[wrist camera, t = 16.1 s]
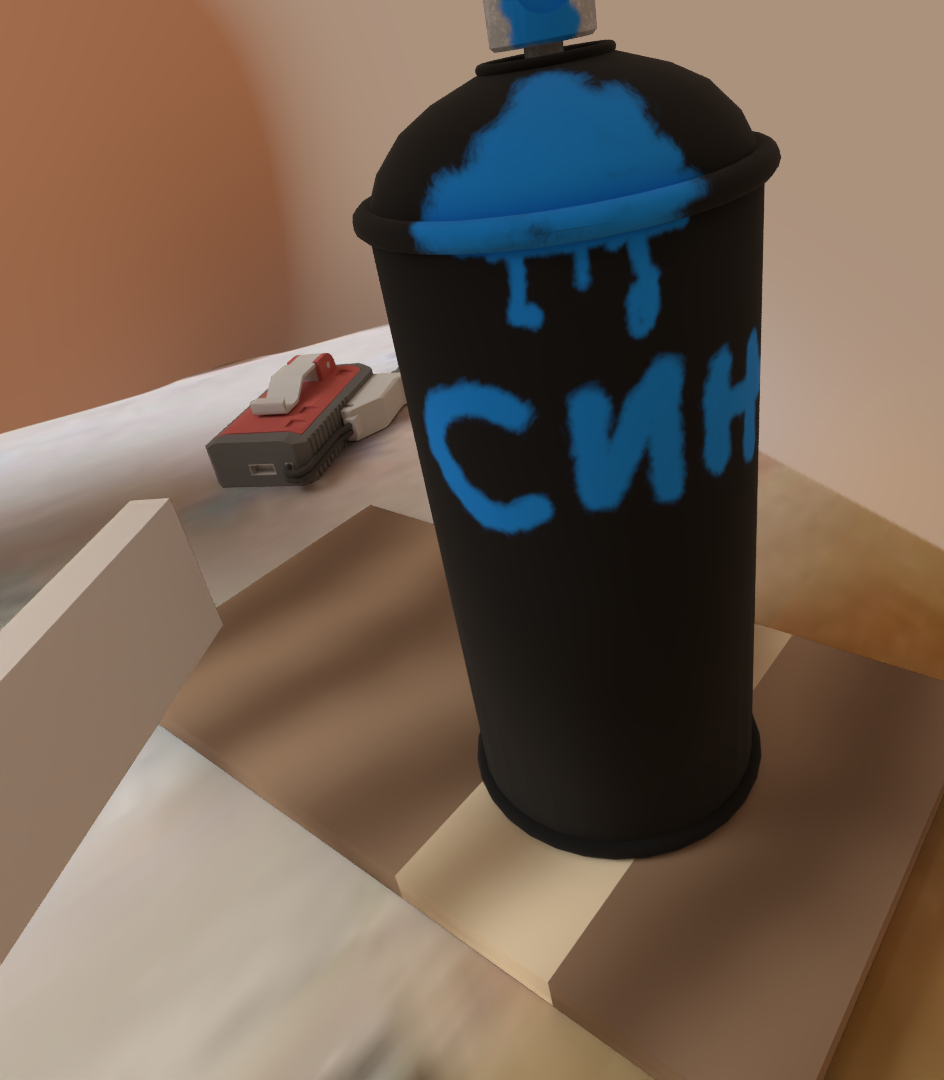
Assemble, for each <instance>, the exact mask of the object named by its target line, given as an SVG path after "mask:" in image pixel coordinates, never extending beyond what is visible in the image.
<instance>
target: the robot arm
mask: <svg viewBox="0 0 944 1080" xmlns="http://www.w3.org/2000/svg"><path fill="white" fill-rule="evenodd" d="M222 626H223V624H222V621H221V619H220V616H219V614H218V612H217V609H216V607H215V605H214V602H213V600H212V597H211V595H210V593H209V590H208V588H207V585H206V583H205V581H204V578H203V576H202V573H201V571H200V569H199V566H198V564H197V561H196V559H195V557H194V554H193V552H192V550H191V547H190V545H189V542H188V540H187V538H186V535H185V533H184V530H183V528H182V526H181V523H180V521H179V518H178V516H177V514H176V511H175V509H174V506H173V504H172V502H171V499H170V498H161V499H147V500H132V501H129V502H128V503H127V504H126V505H125V506H124V507H123V508H122V509H121V510H120V511H119V512H118V513H117V514H116V515H115V516H114V517H113V518H112V519H111V520H110V521H109V522H108V523H107V524H106V525H105V526H104V527H103V528H102V529H101V530H100V531H99V532H98V533H97V534H96V535H95V536H94V537H93V538H92V539H91V540H90V541H89V542H88V543H87V544H86V545H85V546H84V547H83V548H82V549H81V550H80V551H79V552H78V553H77V554H76V555H75V556H74V557H73V558H72V559H71V560H70V561H69V562H68V563H67V564H66V565H65V566H64V567H63V568H62V569H61V570H60V571H59V572H58V573H57V574H56V575H55V576H54V577H53V578H52V579H51V580H50V581H49V582H48V583H47V584H46V585H45V586H44V587H43V588H42V589H41V590H40V591H39V592H38V593H37V594H36V595H35V596H34V597H33V598H32V599H31V600H30V601H29V602H28V603H27V604H26V605H25V606H24V607H23V608H22V609H21V610H20V611H19V612H18V613H17V614H16V615H15V616H14V617H13V618H12V619H11V620H10V621H9V622H8V623H7V624H6V625H5V626H4V627H3V628H2V629H1V630H0V965H1V964H2V962H3V961H4V959H5V958H6V956H7V955H8V953H9V952H10V950H11V949H12V947H13V946H14V944H15V943H16V941H17V939H18V938H19V936H20V935H21V933H22V932H23V930H24V929H25V927H26V926H27V924H28V923H29V921H30V920H31V918H32V917H33V915H34V913H35V912H36V910H37V909H38V907H39V906H40V904H41V903H42V901H43V900H44V898H45V897H46V895H47V894H48V892H49V891H50V889H51V887H52V886H53V884H54V883H55V881H56V880H57V878H58V877H59V875H60V874H61V872H62V871H63V869H64V868H65V866H66V865H67V863H68V861H69V860H70V858H71V857H72V855H73V854H74V852H75V851H76V849H77V848H78V846H79V845H80V843H81V842H82V840H83V839H84V837H85V835H86V834H87V832H88V831H89V829H90V828H91V826H92V825H93V823H94V822H95V820H96V819H97V817H98V816H99V814H100V813H101V811H102V809H103V808H104V806H105V805H106V803H107V802H108V800H109V799H110V797H111V796H112V794H113V793H114V791H115V790H116V788H117V787H118V785H119V783H120V782H121V780H122V779H123V777H124V776H125V774H126V773H127V771H128V770H129V768H130V767H131V765H132V764H133V762H134V761H135V759H136V757H137V756H138V754H139V753H140V751H141V750H142V748H143V747H144V745H145V744H146V742H147V741H148V739H149V738H150V736H151V735H152V733H153V731H154V730H155V728H156V727H157V725H158V724H159V722H160V721H161V719H162V718H163V716H164V715H165V713H166V712H167V710H168V709H169V707H170V705H171V704H172V702H173V701H174V699H175V698H176V696H177V695H178V693H179V692H180V690H181V689H182V687H183V686H184V684H185V683H186V681H187V679H188V678H189V676H190V675H191V673H192V672H193V670H194V669H195V667H196V666H197V664H198V663H199V661H200V660H201V658H202V656H203V655H204V653H205V652H206V650H207V649H208V647H209V646H210V644H211V643H212V641H213V640H214V638H215V637H216V635H217V634H218V632H219V630H220V629H221V627H222Z"/></svg>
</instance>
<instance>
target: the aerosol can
mask: <svg viewBox="0 0 944 1080" xmlns="http://www.w3.org/2000/svg"><path fill="white" fill-rule="evenodd" d="M483 4H484V12H485V18H486V27H487V34H488V41H489V48H490V49H491V50H492V51H493V52H495V53H496V52H503V51H510V50H515V49H522V48H524V54H520V55H516V56H511V57H506V58H502V59H497V60H493V61H489V62H486V63H482V64H480V65H478V66H477V67H476V70H475V73H476V75H477V76H476V77H475V78H473V79H471V80H470V81H468V82H467V83H465V84H463V85H462V86H460V87H459V88H457V89H456V90H454V91H452V92H451V93H449V94H448V95H446V96H445V97H443V98H441V99H440V100H438V101H437V102H435V103H434V104H432V105H430V106H429V107H428V108H427V109H426V110H425V111H424V112H423V113H422V114H421V115H420V116H419V117H417V118H416V119H415V120H414V121H413V122H412V123H411V124H410V125H409V126H408V127H407V128H406V129H405V130H404V131H403V132H401V133H400V135H399V136H398V137H397V139H396V141H395V143H394V144H393V146H392V148H391V150H390V152H389V153H388V155H387V157H386V159H385V160H384V162H383V164H382V166H381V167H380V169H379V171H378V173H377V174H376V178H375V183H374V187H373V191H372V196H371V197H369V198H367V199H366V200H364V201H363V202H362V203H361V204H360V205H359V207H358V208H357V209H356V211H355V213H354V214H353V227H354V231H355V233H356V235H357V237H359V238H360V239H361V240H363V241H365V242H366V243H368V244H369V245H371V246H372V249H373V254H374V258H375V263H376V267H377V271H378V276H379V281H380V285H381V290H382V294H383V298H384V303H385V307H386V312H387V316H388V321H389V325H390V330H391V334H392V339H393V343H394V348H395V352H396V357H397V361H398V365H399V370H400V374H401V379H402V383H403V388H404V392H405V397H406V401H407V406H408V410H409V415H410V419H411V424H412V428H413V432H414V437H415V441H416V446H417V450H418V455H419V459H420V464H421V468H422V473H423V477H424V482H425V486H426V490H427V495H428V499H429V504H430V508H431V513H432V517H433V522H434V526H435V531H436V535H437V540H438V544H439V549H440V553H441V557H442V562H443V566H444V571H445V575H446V580H447V584H448V589H449V593H450V598H451V602H452V607H453V611H454V616H455V620H456V624H457V629H458V633H459V638H460V642H461V647H462V651H463V656H464V660H465V665H466V669H467V674H468V678H469V683H470V687H471V691H472V696H473V700H474V705H475V709H476V714H477V718H478V723H479V727H480V733H479V738H478V758H477V759H478V764H479V769H480V773H481V778H482V781H483V783H484V785H485V787H486V789H487V791H488V793H489V795H490V797H491V799H492V800H493V802H494V803H495V804H496V805H497V806H498V808H499V809H500V810H501V811H502V812H503V813H504V815H505V816H506V817H507V818H508V819H509V820H510V821H511V822H512V823H514V824H515V825H516V826H518V827H519V828H520V829H521V830H523V831H524V832H525V833H527V834H528V835H529V836H531V837H533V838H535V839H537V840H539V841H541V842H543V843H545V844H547V845H549V846H552V847H554V848H556V849H559V850H563V851H566V852H570V853H574V854H577V855H581V856H584V857H593V858H603V859H613V860H620V859H634V858H648V857H652V856H656V855H660V854H664V853H668V852H672V851H676V850H679V849H681V848H684V847H686V846H688V845H690V844H693V843H695V842H697V841H699V840H701V839H704V838H706V837H707V836H708V835H710V834H711V833H712V832H714V831H715V830H717V829H718V828H719V827H721V826H722V825H724V824H725V823H726V822H728V821H729V819H730V818H731V817H732V816H733V815H734V814H735V813H736V812H737V810H738V809H739V808H740V807H741V806H742V805H743V804H744V802H745V801H746V799H747V797H748V795H749V793H750V791H751V789H752V787H753V785H754V783H755V781H756V779H757V776H758V771H759V766H760V761H761V756H762V755H761V741H760V733H759V730H758V727H757V724H756V722H755V719H754V716H753V713H752V705H753V662H754V618H755V575H756V532H757V488H758V443H759V441H758V440H759V401H760V358H761V357H760V356H761V313H762V270H763V228H764V227H763V226H764V225H763V224H764V184H765V182H767V181H768V179H769V178H770V177H771V176H772V175H773V173H774V172H775V171H776V169H777V167H778V166H779V163H780V159H781V155H780V151H779V148H778V146H777V144H776V142H775V141H774V140H773V139H772V138H771V137H769V136H766V135H764V134H762V133H759V132H754V131H752V130H751V128H750V126H749V124H748V122H747V120H746V118H745V116H744V114H743V112H742V110H741V109H740V108H739V107H738V106H737V105H736V104H735V103H734V102H733V101H732V100H731V99H729V97H727V96H726V95H725V94H724V93H723V92H722V91H721V90H720V89H719V88H718V87H717V86H716V85H715V84H714V83H713V82H712V81H711V80H710V79H708V78H706V77H704V76H702V75H699V74H697V73H695V72H692V71H690V70H688V69H685V68H683V67H681V66H679V65H676V64H674V63H672V62H668V61H664V60H659V59H654V58H650V57H645V56H640V55H636V54H631V53H627V52H622V51H617V50H615V48H616V43H615V42H614V41H613V40H600V41H593V42H586V43H580V44H574V45H568V46H563V41H564V40H568V39H573V38H578V37H582V36H586V35H590V34H593V33H594V31H595V30H596V28H597V22H596V9H595V0H483Z"/></svg>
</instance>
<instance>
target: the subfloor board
mask: <svg viewBox="0 0 944 1080" xmlns="http://www.w3.org/2000/svg"><path fill="white" fill-rule="evenodd" d="M216 609H217V612H218V614H219V616H220V619H221V621H222V624H223V626H222V627H221V629H220V630H219V632H218V634H217V635H216V637H215V638H214V640H213V641H212V643H211V644H210V646H209V647H208V649H207V650H206V652H205V653H204V655H203V656H202V658H201V660H200V661H199V663H198V664H197V666H196V667H195V669H194V670H193V672H192V673H191V675H190V676H189V678H188V679H187V681H186V683H185V684H184V686H183V687H182V689H181V690H180V692H179V693H178V695H177V696H176V698H175V699H174V701H173V702H172V704H171V705H170V707H169V709H168V710H167V712H166V713H165V715H164V716H163V718H162V719H161V721H160V722H159V724H160V725H161V726H162V727H164V728H165V729H167V730H168V731H169V732H171V733H172V734H174V735H175V736H176V737H178V738H179V739H181V740H182V741H183V742H185V743H186V744H188V745H189V746H190V747H192V748H193V749H195V750H196V751H197V752H199V753H200V754H202V755H203V756H204V757H206V758H207V759H209V760H210V761H211V762H213V763H214V764H216V765H217V766H218V767H220V768H221V769H223V770H224V771H225V772H227V773H228V774H230V775H231V776H232V777H234V778H235V779H237V780H238V781H239V782H241V783H242V784H244V785H245V786H246V787H248V788H249V789H251V790H252V791H253V792H255V793H256V794H258V795H259V796H260V797H262V798H263V799H264V800H266V801H267V802H269V803H270V804H271V805H273V806H274V807H276V808H277V809H278V810H280V811H281V812H283V813H284V814H285V815H287V816H288V817H290V818H291V819H292V820H294V821H295V822H297V823H298V824H299V825H301V826H302V827H304V828H305V829H306V830H308V831H309V832H311V833H312V834H313V835H315V836H316V837H318V838H319V839H320V840H322V841H323V842H325V843H326V844H327V845H329V846H330V847H332V848H333V849H334V850H336V851H337V852H339V853H340V854H341V855H343V856H344V857H346V858H347V859H348V860H350V861H351V862H353V863H354V864H355V865H357V866H358V867H360V868H361V869H362V870H364V871H365V872H367V873H368V874H369V875H371V876H372V877H374V878H375V879H376V880H378V881H379V882H381V883H382V884H383V885H385V886H386V887H388V888H389V889H390V890H392V891H393V892H395V893H396V894H397V895H399V896H400V897H402V898H403V899H404V900H406V901H407V902H409V903H410V904H411V905H413V906H414V907H416V908H417V909H418V910H420V911H421V912H423V913H424V914H425V915H427V916H428V917H430V918H431V919H432V920H434V921H435V922H436V923H438V924H439V925H441V926H442V927H443V928H445V929H446V930H448V931H449V932H450V933H452V934H453V935H455V936H456V937H457V938H459V939H460V940H462V941H463V942H464V943H466V944H467V945H469V946H470V947H471V948H473V949H474V950H476V951H477V952H478V953H480V954H481V955H483V956H484V957H485V958H487V959H488V960H490V961H491V962H492V963H494V964H495V965H497V966H498V967H499V968H501V969H502V970H504V971H505V972H506V973H508V974H509V975H511V976H512V977H513V978H515V979H516V980H518V981H519V982H520V983H522V984H523V985H525V986H526V987H527V988H529V989H530V990H532V991H533V992H534V993H536V994H537V995H539V996H540V997H541V998H543V999H544V1000H546V1001H547V1002H548V1003H550V1004H551V1005H553V1006H554V1007H555V1008H557V1009H558V1010H560V1011H561V1012H562V1013H564V1014H565V1015H567V1016H568V1017H569V1018H571V1019H572V1020H574V1021H575V1022H576V1023H578V1024H579V1025H581V1026H582V1027H583V1028H585V1029H586V1030H588V1031H589V1032H590V1033H592V1034H593V1035H595V1036H596V1037H597V1038H599V1039H600V1040H601V1041H603V1042H604V1043H606V1044H607V1045H608V1046H610V1047H611V1048H613V1049H614V1050H615V1051H617V1052H618V1053H620V1054H621V1055H622V1056H624V1057H625V1058H627V1059H628V1060H629V1061H631V1062H632V1063H634V1064H635V1065H636V1066H638V1067H639V1068H641V1069H642V1070H643V1071H645V1072H646V1073H648V1074H649V1075H650V1076H652V1077H653V1078H655V1079H656V1080H823V1079H824V1077H825V1075H826V1072H827V1070H828V1068H829V1065H830V1063H831V1060H832V1058H833V1056H834V1053H835V1051H836V1049H837V1046H838V1044H839V1042H840V1039H841V1037H842V1034H843V1032H844V1030H845V1027H846V1025H847V1023H848V1020H849V1018H850V1016H851V1013H852V1011H853V1008H854V1006H855V1004H856V1001H857V999H858V997H859V994H860V992H861V990H862V987H863V985H864V982H865V980H866V978H867V975H868V973H869V971H870V968H871V966H872V964H873V961H874V959H875V956H876V954H877V952H878V949H879V947H880V945H881V942H882V940H883V937H884V935H885V933H886V930H887V928H888V926H889V923H890V921H891V919H892V916H893V914H894V911H895V909H896V907H897V904H898V902H899V900H900V897H901V895H902V893H903V890H904V888H905V885H906V883H907V881H908V878H909V876H910V874H911V871H912V869H913V867H914V864H915V862H916V859H917V857H918V855H919V852H920V850H921V848H922V845H923V843H924V841H925V838H926V836H927V833H928V831H929V829H930V826H931V824H932V822H933V819H934V817H935V815H936V812H937V810H938V807H939V805H940V803H941V800H942V798H943V796H944V681H941V680H938V679H935V678H931V677H928V676H925V675H922V674H918V673H915V672H912V671H909V670H905V669H902V668H899V667H896V666H892V665H889V664H886V663H883V662H879V661H876V660H873V659H870V658H866V657H863V656H860V655H857V654H853V653H850V652H847V651H844V650H840V649H837V648H834V647H831V646H827V645H824V644H821V643H818V642H814V641H811V640H808V639H805V638H801V637H798V636H795V635H792V634H788V633H785V632H782V631H779V630H775V629H772V628H769V627H766V626H762V625H759V624H756V623H754V662H753V705H752V713H753V716H754V719H755V722H756V724H757V727H758V730H759V733H760V741H761V755H762V756H761V761H760V766H759V771H758V776H757V779H756V781H755V783H754V785H753V787H752V789H751V791H750V793H749V795H748V797H747V799H746V801H745V802H744V804H743V805H742V806H741V807H740V808H739V809H738V810H737V812H736V813H735V814H734V815H733V816H732V817H731V818H730V819H729V821H728V822H726V823H725V824H724V825H722V826H721V827H719V828H718V829H717V830H715V831H714V832H712V833H711V834H710V835H708V836H707V837H706V838H704V839H701V840H699V841H697V842H695V843H693V844H690V845H688V846H686V847H684V848H681V849H679V850H676V851H672V852H668V853H664V854H660V855H656V856H652V857H648V858H634V859H620V860H613V859H603V858H593V857H584V856H581V855H577V854H574V853H570V852H566V851H563V850H559V849H556V848H554V847H552V846H549V845H547V844H545V843H543V842H541V841H539V840H537V839H535V838H533V837H531V836H529V835H528V834H527V833H525V832H524V831H523V830H521V829H520V828H519V827H518V826H516V825H515V824H514V823H512V822H511V821H510V820H509V819H508V818H507V817H506V816H505V815H504V813H503V812H502V811H501V810H500V809H499V808H498V806H497V805H496V804H495V803H494V802H493V800H492V799H491V797H490V795H489V793H488V791H487V789H486V787H485V785H484V783H483V781H482V778H481V773H480V769H479V764H478V759H477V758H478V738H479V733H480V727H479V723H478V718H477V714H476V709H475V705H474V700H473V696H472V691H471V687H470V683H469V678H468V674H467V669H466V665H465V660H464V656H463V651H462V647H461V642H460V638H459V633H458V629H457V624H456V620H455V616H454V611H453V607H452V602H451V598H450V593H449V589H448V584H447V580H446V575H445V571H444V566H443V562H442V557H441V553H440V549H439V544H438V540H437V535H436V531H435V526H434V524H431V523H427V522H424V521H421V520H418V519H414V518H411V517H408V516H404V515H401V514H398V513H395V512H391V511H388V510H385V509H382V508H378V507H375V506H372V505H370V506H368V507H367V508H365V509H364V510H362V511H361V512H359V513H358V514H356V515H355V516H353V517H352V518H350V519H349V520H347V521H346V522H344V523H343V524H341V525H340V526H338V527H337V528H335V529H334V530H332V531H331V532H329V533H328V534H326V535H325V536H323V537H322V538H320V539H319V540H317V541H316V542H314V543H313V544H311V545H310V546H308V547H307V548H305V549H304V550H302V551H301V552H300V553H298V554H297V555H295V556H294V557H292V558H291V559H289V560H288V561H286V562H285V563H283V564H282V565H280V566H279V567H277V568H276V569H274V570H273V571H271V572H270V573H268V574H267V575H265V576H264V577H262V578H261V579H259V580H258V581H256V582H255V583H253V584H252V585H250V586H249V587H247V588H246V589H244V590H243V591H241V592H240V593H238V594H237V595H235V596H234V597H232V598H231V599H229V600H228V601H226V602H225V603H223V604H222V605H220V606H219V607H217V608H216Z"/></svg>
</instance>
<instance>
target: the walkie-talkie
mask: <svg viewBox="0 0 944 1080" xmlns="http://www.w3.org/2000/svg"><path fill="white" fill-rule="evenodd" d="M406 404H407V401H406V397H405V392H404V388H403V383H402V379H401V374H400V370H399V367H398V368H397V370H395V371H392V372H391V373H382V374H373V373H372V369H371V368H370V367H369V366H366V365H363V364H360V363H354V364H341V365H335V362H334V359H333V357H332V356H331V355H330V354H329V353H323V354H309V355H297V356H294V357H293V358H292V359H291V360H290V361H289V362H288V363H287V365H285V366H283V367H282V368H281V369H280V370H279V371H278V372H276V373H275V374H274V375H273V376H272V377H271V380H270V384H269V388H268V389H267V390H266V391H265V392H264V393H263V394H262V395H261V396H260V397H258V398H257V399H256V400H254V401H252V402H251V403H250V406H249V407H248V408H247V409H245V411H243V412H242V413H241V414H240V415H239V416H238V417H237V418H236V419H235V420H233V421H232V422H231V423H230V424H229V425H228V426H227V427H226V428H224V429H223V431H221V432H220V433H219V434H218V435H217V436H216V437H215V438H214V439H213V440H211V441H210V442H209V443H208V444H207V445H206V449H207V452H208V454H209V457H210V460H211V462H212V465H213V468H214V470H215V473H216V476H217V478H218V481H219V483H220V485H221V486H222V487H223V488H227V487H266V486H304V485H306V484H309V483H311V482H314V481H316V480H318V479H319V477H320V476H321V475H323V472H324V471H326V470H327V469H326V468H327V467H328V466H330V463H331V462H333V461H334V458H335V457H337V454H338V453H340V452H341V449H343V448H344V445H346V444H347V442H348V441H358V440H361V439H363V438H365V437H367V436H369V435H371V434H373V433H375V432H377V431H380V430H382V429H384V428H386V427H387V426H388V425H389V424H390V422H391V421H392V420H393V418H394V417H395V416H396V414H397V413H398V412H399V410H400V409H401V408H402V406H404V405H406Z"/></svg>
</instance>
